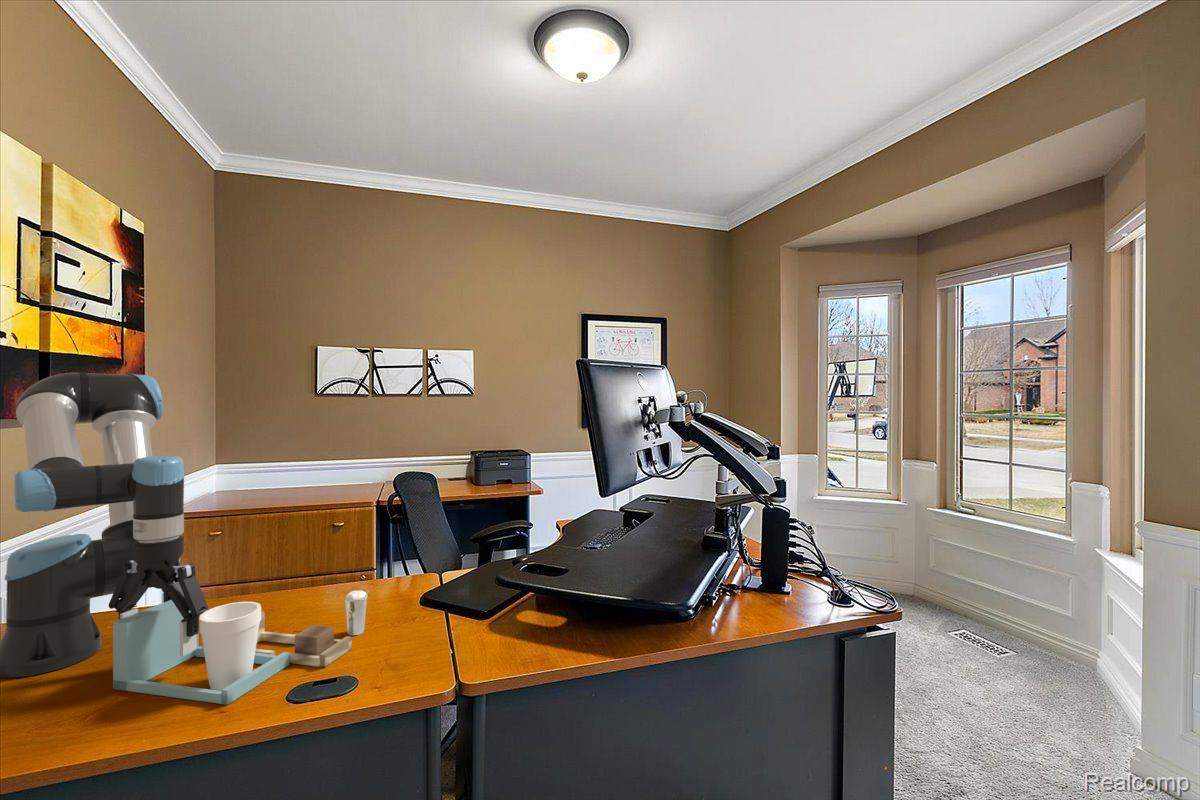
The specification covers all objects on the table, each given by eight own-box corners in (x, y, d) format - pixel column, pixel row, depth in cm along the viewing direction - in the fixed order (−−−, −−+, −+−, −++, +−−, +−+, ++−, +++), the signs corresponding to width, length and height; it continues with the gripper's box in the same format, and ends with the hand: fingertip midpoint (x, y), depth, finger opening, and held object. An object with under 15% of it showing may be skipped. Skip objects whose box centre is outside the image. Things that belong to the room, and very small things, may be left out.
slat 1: (219, 654, 109) (220, 625, 109) (252, 637, 116) (252, 609, 116) (271, 660, 106) (271, 630, 106) (301, 642, 114) (301, 614, 114)
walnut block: (294, 660, 107) (294, 635, 107) (312, 648, 112) (312, 625, 112) (316, 663, 106) (316, 637, 106) (333, 651, 111) (334, 627, 111)
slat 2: (280, 662, 106) (280, 649, 106) (309, 643, 114) (309, 632, 114) (325, 667, 104) (325, 655, 104) (351, 648, 112) (351, 636, 112)
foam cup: (188, 687, 97) (188, 615, 97) (242, 664, 105) (242, 598, 105) (217, 701, 92) (217, 626, 92) (271, 676, 101) (271, 607, 101)
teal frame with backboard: (113, 688, 96) (113, 621, 96) (186, 652, 109) (186, 593, 109) (227, 704, 91) (227, 634, 91) (288, 664, 105) (289, 603, 105)
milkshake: (361, 638, 117) (362, 592, 117) (340, 636, 118) (340, 590, 118) (374, 629, 121) (375, 585, 121) (353, 627, 122) (353, 583, 122)
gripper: (83, 538, 101) (83, 650, 101) (195, 548, 96) (195, 665, 96) (126, 528, 108) (125, 633, 108) (231, 537, 103) (231, 646, 104)
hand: (158, 648), depth 102 cm, fingers open, 13 cm apart
